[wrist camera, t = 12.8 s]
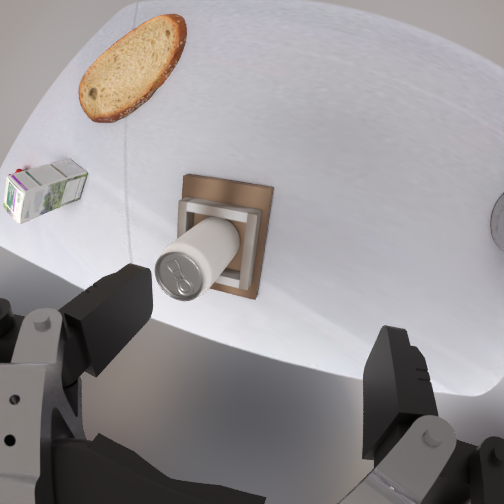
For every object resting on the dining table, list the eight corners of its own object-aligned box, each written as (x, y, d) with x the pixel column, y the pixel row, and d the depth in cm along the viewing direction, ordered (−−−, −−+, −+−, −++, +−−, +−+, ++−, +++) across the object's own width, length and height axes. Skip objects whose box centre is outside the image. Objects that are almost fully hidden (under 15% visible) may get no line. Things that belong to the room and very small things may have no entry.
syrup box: (69, 157, 45) (5, 174, 32) (89, 173, 45) (23, 193, 32) (62, 184, 47) (1, 206, 34) (81, 200, 47) (19, 226, 34)
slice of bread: (194, 13, 32) (182, 5, 28) (169, 130, 39) (155, 131, 36) (101, 22, 34) (86, 18, 31) (82, 120, 42) (67, 122, 39)
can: (209, 266, 43) (170, 310, 33) (188, 225, 42) (141, 259, 31) (249, 251, 41) (217, 296, 30) (227, 207, 39) (187, 239, 29)
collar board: (273, 187, 38) (267, 193, 35) (257, 294, 45) (250, 309, 41) (188, 173, 41) (174, 178, 37) (183, 275, 47) (171, 287, 44)
